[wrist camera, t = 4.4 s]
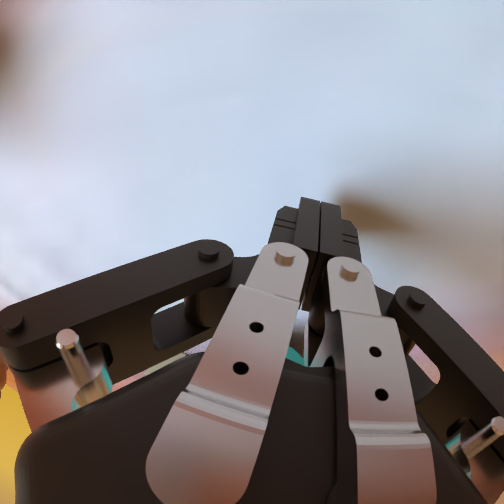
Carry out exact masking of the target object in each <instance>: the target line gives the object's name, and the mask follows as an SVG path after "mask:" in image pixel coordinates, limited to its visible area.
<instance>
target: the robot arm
mask: <svg viewBox="0 0 504 504" xmlns="http://www.w3.org/2000/svg"><path fill="white" fill-rule="evenodd" d="M183 298H184V302H182V303H180V304H178V305H175V306H173V307H170V308H168V309H166V310H163V311H161V312H158V313H156V314H154V313H155V312H156V311H157V310H158V309H160V308H161V307H163V306H166V305H168V304H171V303H173V302H176V301H178V300H180V299H183ZM302 300H303V301H302ZM301 303H302V309H301V310H304V311H308V312H309V318H308V320H307V323H306V326H305V329H304V366H303V365H301V364H299V363H296V362H294V361H292V360H289V359H287V358H286V354H287V350H288V347H289V343H290V339H291V335H292V331H293V327H294V324H295V320H296V316H297V312H298V309H300V306H301ZM153 314H154V315H153ZM210 338H212V339H211V341H210V343H209V345H208V347H207V349H206V351H205V352H200V353H195V354H191V355H187V356H185V357H182V358H179V359H177V360H175V361H173V362H171V363H170V364H168V365H166V366H164V367H162V368H160V369H158V370H156V371H154V372H152V373H150V374H148V375H146V376H144V377H142V378H140V379H138V380H136V381H134V382H132V383H130V384H128V385H126V386H124V387H122V388H120V389H118V390H116V391H114V392H112V393H111V390H112V385H113V384H115V383H118V382H120V381H122V380H124V379H126V378H129V377H131V376H133V375H135V374H137V373H140V372H142V371H144V370H146V369H148V368H150V367H153V366H155V365H157V364H159V363H161V362H163V361H165V360H167V359H170V358H172V357H174V356H176V355H178V354H180V353H182V352H184V351H186V350H188V349H190V348H192V347H194V346H196V345H198V344H200V343H202V342H204V341H206V340H208V339H210ZM415 344H417V345H418V347H419V348H420V349H421V350H422V351H423V352H424V353H425V354H426V355H427V356H428V357H429V358H430V360H431V361H432V362H433V363H434V364H435V365H436V366H437V367H438V369H439V371H440V380H439V382H438V384H435V383H433V382H432V381H431V379H430V378H429V377H428V376H427V375H426V374H425V373H424V371H423V370H422V369H421V368H420V367H419V366H418V365H417V364H416V362H415V361H414V360H413V359H412V358H411V357H410V356H409V355H408V354H409V352H410V351H411V350H412V348H413V347H414V345H415ZM0 352H1V354H2V356H3V358H4V361H5V363H6V364H7V366H8V367H9V369H10V370H11V372H12V373H13V375H14V378H15V382H16V386H17V389H18V392H19V396H20V399H21V401H22V406H23V409H24V412H25V415H26V418H27V420H28V423H29V426H30V429H31V431H32V433H31V434H30V435H29V436H28V437H27V438H26V440H25V441H24V443H23V444H22V445H21V448H20V450H19V452H18V455H17V458H16V462H15V470H14V471H15V492H16V495H15V501H16V502H15V504H495V502H496V501H497V500H498V498H499V497H500V495H501V494H502V493H503V491H504V371H503V370H502V369H501V368H500V367H499V366H498V365H497V364H496V363H495V362H494V361H493V359H492V358H491V357H490V356H489V355H488V354H487V353H486V352H485V351H484V350H483V349H482V348H481V347H480V346H479V345H478V344H477V343H476V342H475V341H474V340H473V338H472V337H471V336H470V335H469V334H468V333H467V332H466V331H465V330H464V329H463V328H462V327H461V326H460V325H459V324H458V323H457V322H456V321H455V320H454V319H453V318H452V317H451V316H450V315H449V314H447V313H446V312H445V311H444V310H443V309H442V308H441V307H440V306H439V305H438V304H437V303H436V302H435V301H434V300H433V299H432V298H431V297H430V296H429V295H427V294H426V293H425V292H424V291H422V290H420V289H418V288H415V287H412V286H402V287H400V288H398V289H397V291H396V292H395V294H391V293H389V292H387V291H385V290H383V289H381V288H379V287H377V286H376V285H374V283H373V279H372V275H371V273H370V271H369V269H368V268H367V267H366V266H365V265H364V264H362V261H361V254H360V247H359V240H358V234H357V229H356V228H355V227H354V225H353V224H352V223H351V221H347V220H343V219H341V211H340V206H338V205H334V204H330V203H326V202H322V201H321V203H320V201H317V200H313V199H309V198H305V197H301V199H300V204H299V208H298V209H296V208H292V207H288V206H284V207H283V208H281V209H280V210H278V211H277V214H276V218H275V221H274V225H273V228H272V231H271V234H270V238H269V241H268V244H267V245H265V246H264V247H263V248H262V250H261V252H260V254H259V255H256V256H252V257H234V253H233V251H232V249H231V248H230V247H229V246H227V245H226V244H224V243H222V242H219V241H216V240H208V239H206V240H198V241H194V242H191V243H188V244H185V245H182V246H179V247H176V248H173V249H170V250H167V251H164V252H161V253H158V254H155V255H152V256H149V257H146V258H143V259H140V260H137V261H134V262H131V263H128V264H125V265H122V266H119V267H116V268H113V269H110V270H107V271H105V272H102V273H99V274H96V275H93V276H90V277H87V278H84V279H82V280H79V281H76V282H73V283H70V284H67V285H65V286H62V287H59V288H56V289H53V290H51V291H48V292H45V293H42V294H40V295H37V296H34V297H31V298H29V299H26V300H23V301H21V302H18V303H15V304H12V305H10V306H8V307H6V308H4V309H3V310H1V311H0Z"/></svg>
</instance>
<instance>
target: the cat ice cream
mask: <svg viewBox="0 0 504 504" xmlns="http://www.w3.org/2000/svg"><path fill="white" fill-rule="evenodd" d="M8 368H9V367H8V366H7V364H6V363H5V361H4V358H3V356H2V354H1V352H0V390H1V389H2V388H3V387H4V385H5V383H6V371H7V369H8ZM0 397H1V391H0Z"/></svg>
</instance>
